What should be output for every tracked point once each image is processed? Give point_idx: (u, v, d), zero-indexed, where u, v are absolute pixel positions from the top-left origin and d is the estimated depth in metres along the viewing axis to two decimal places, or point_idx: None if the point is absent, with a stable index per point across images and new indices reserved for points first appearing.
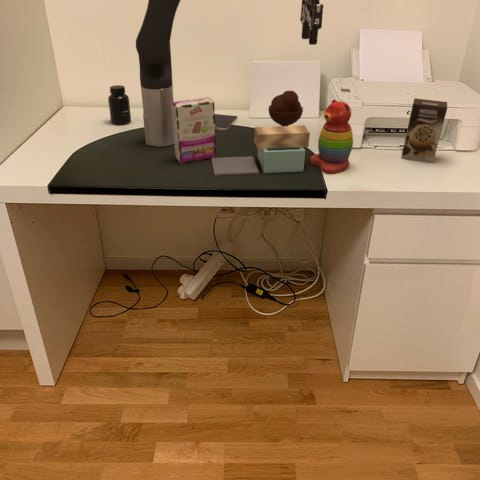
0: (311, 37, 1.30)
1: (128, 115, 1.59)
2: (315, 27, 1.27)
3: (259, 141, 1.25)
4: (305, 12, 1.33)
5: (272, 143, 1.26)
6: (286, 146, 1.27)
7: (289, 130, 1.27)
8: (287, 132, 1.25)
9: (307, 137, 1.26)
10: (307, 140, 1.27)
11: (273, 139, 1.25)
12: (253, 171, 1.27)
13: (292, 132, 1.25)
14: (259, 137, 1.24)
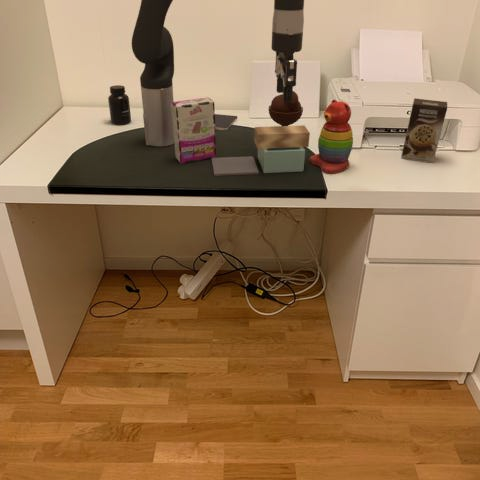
0: (285, 94, 1.17)
1: (128, 115, 1.59)
2: (289, 85, 1.14)
3: (259, 141, 1.25)
4: (279, 65, 1.20)
5: (272, 143, 1.26)
6: (286, 146, 1.27)
7: (289, 130, 1.27)
8: (287, 132, 1.25)
9: (307, 137, 1.26)
10: (307, 140, 1.27)
11: (273, 139, 1.25)
12: (253, 171, 1.27)
13: (292, 132, 1.25)
14: (259, 137, 1.24)
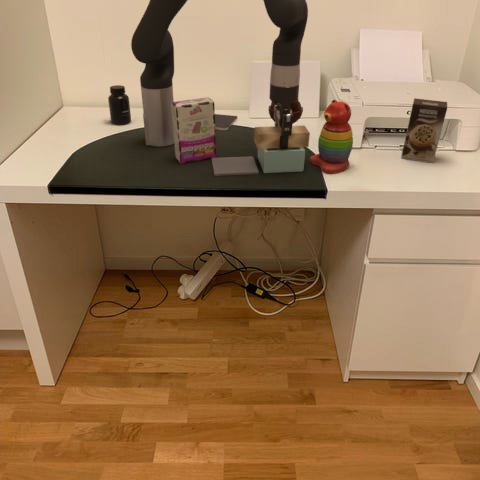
0: (281, 142, 1.25)
1: (128, 115, 1.59)
2: (285, 134, 1.22)
3: (259, 141, 1.25)
4: None
5: (272, 143, 1.26)
6: None
7: None
8: None
9: (307, 137, 1.26)
10: (307, 140, 1.27)
11: (273, 139, 1.25)
12: (253, 171, 1.27)
13: (292, 132, 1.25)
14: (259, 137, 1.24)
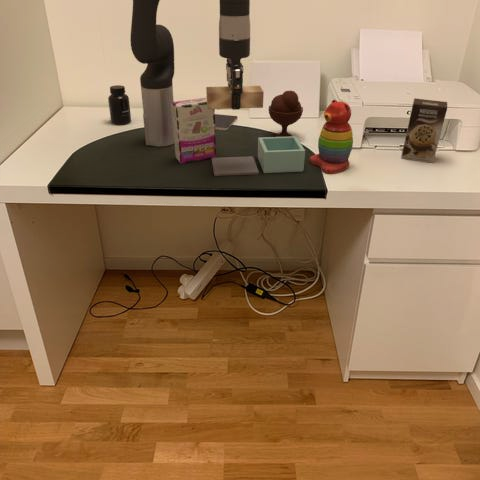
0: (233, 102, 1.17)
1: (128, 115, 1.59)
2: (235, 92, 1.14)
3: (209, 101, 1.17)
4: None
5: (224, 103, 1.18)
6: None
7: (242, 89, 1.19)
8: None
9: (261, 97, 1.18)
10: (262, 100, 1.19)
11: (224, 99, 1.17)
12: (253, 171, 1.27)
13: (245, 91, 1.18)
14: (209, 96, 1.17)
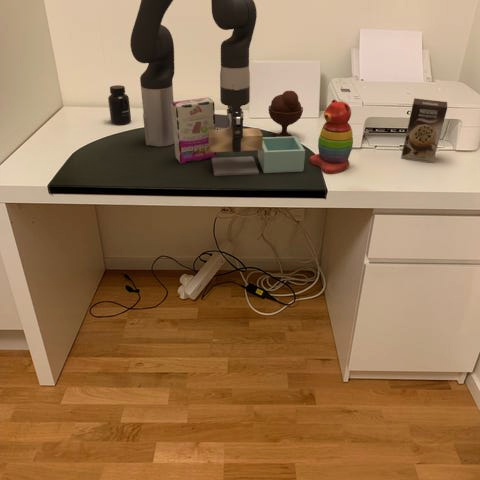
0: (234, 145, 1.23)
1: (128, 115, 1.59)
2: (236, 138, 1.20)
3: (211, 144, 1.23)
4: None
5: (225, 146, 1.24)
6: None
7: None
8: None
9: (260, 140, 1.24)
10: (261, 143, 1.25)
11: (225, 142, 1.23)
12: (253, 171, 1.27)
13: (245, 135, 1.24)
14: (211, 140, 1.23)
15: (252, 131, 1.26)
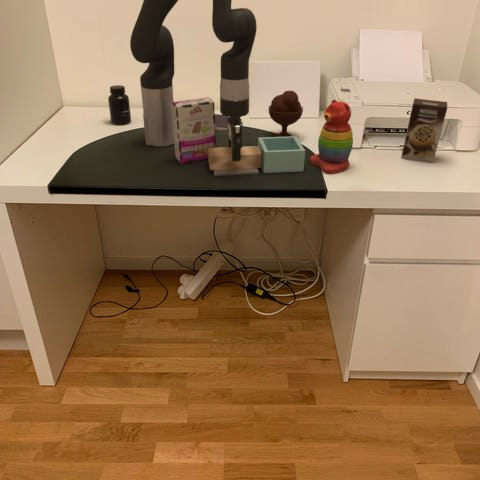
0: (233, 155, 1.24)
1: (128, 115, 1.59)
2: (235, 147, 1.20)
3: (211, 162, 1.26)
4: None
5: (224, 164, 1.27)
6: (238, 167, 1.28)
7: (241, 151, 1.28)
8: None
9: (259, 158, 1.27)
10: (259, 161, 1.28)
11: (225, 161, 1.26)
12: (253, 171, 1.27)
13: (244, 153, 1.27)
14: (211, 159, 1.25)
15: (251, 149, 1.29)
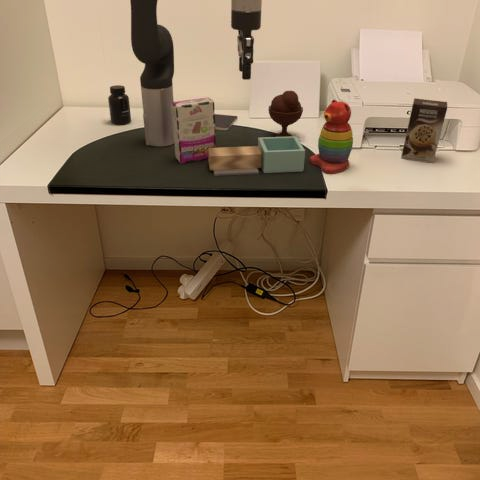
0: (244, 72, 1.20)
1: (128, 115, 1.59)
2: (246, 62, 1.17)
3: (211, 162, 1.26)
4: None
5: (224, 164, 1.27)
6: (238, 167, 1.28)
7: (241, 151, 1.28)
8: (239, 153, 1.27)
9: (259, 158, 1.27)
10: (259, 161, 1.28)
11: (225, 161, 1.26)
12: (253, 171, 1.27)
13: (244, 153, 1.27)
14: (211, 159, 1.25)
15: (251, 149, 1.29)
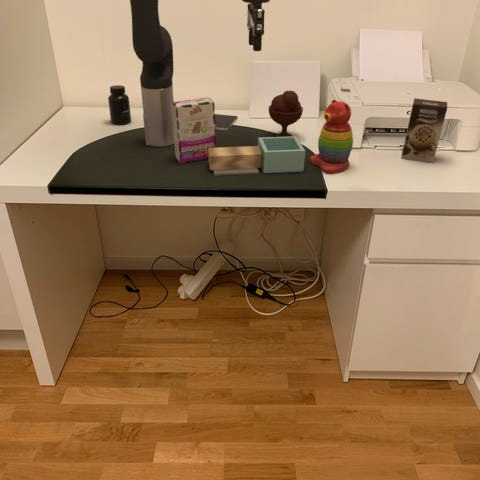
0: (255, 43, 1.25)
1: (128, 115, 1.59)
2: (257, 33, 1.22)
3: (211, 162, 1.26)
4: (249, 17, 1.27)
5: (224, 164, 1.27)
6: (238, 167, 1.28)
7: (241, 151, 1.28)
8: (239, 153, 1.27)
9: (259, 158, 1.27)
10: (259, 161, 1.28)
11: (225, 161, 1.26)
12: (253, 171, 1.27)
13: (244, 153, 1.27)
14: (211, 159, 1.25)
15: (251, 149, 1.29)
